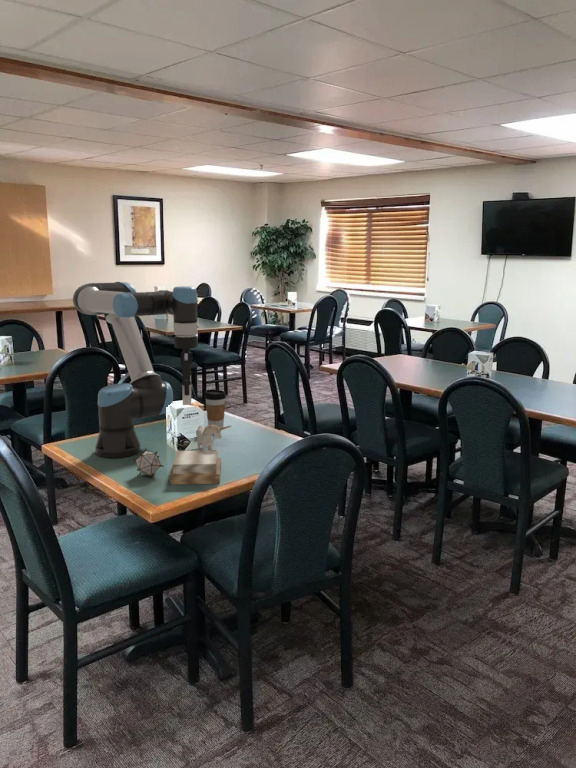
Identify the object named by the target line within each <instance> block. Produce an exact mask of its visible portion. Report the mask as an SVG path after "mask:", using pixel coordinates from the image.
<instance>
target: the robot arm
mask: <svg viewBox="0 0 576 768" xmlns="http://www.w3.org/2000/svg"><path fill="white" fill-rule="evenodd" d="M197 292H198V291H197V289H196V287H194V286H182V285H181V286H175V287H173V288H172V291H171V290H167V289H165V290H163V289H162V290H156V291H146V292H144V291H142V292H139V291H138V292H137V291H136V289H135V287H134V286H133V285H132V284H131V283H129V282H126V281H125V282H124V281H123V282H122V281H121V282H120V281H114V282H91V283H85V284H83V285H81V286H79V287H77V289H75V291H74V293H73V295H72V303H73V306H74V307H75V309H76V310H77V311H79V312H80V313H82V314H84V315H89V316H90V315H91V316H97V315H98V316H99V315H102V316H103V315H104V318H105V321H106V322H107V323H109V324H111V326H112V329H113V331H114V334H115V337H116V339H117V344H118V345H119V349H120V351H121V355H122V357H123V360H124V362H125V365H126V369H127V372H128V375H129V377H130V380H131V381H130V382H128V383H127V382H122V383H113V384H109V385H107V386H104V387H102V388H101V389H100V390H99V391H98V394H97V403H96V404H97V408H98V409H97V410H98V411H97V413H98V423H99V424H98V425H99V434H98V437H97V441H96V443H95V454H96V456H98V457H101V458H105V459H106V458H107V459H119V458H127V457H130V456H134V455H137V454H139V452H140V451H141V443H140V440H139V438H138V436H137V433H136V431H135V420H139V419H140V420H141V419H145V418H150V417H151V418H152V417H155V416H156V417H159V416H160V415H163V414H167V413H166V407H168V405H170V404H171V403H172V404H173V402H174V393H173V388H172V386H171V384H170V383H169V382H167V381H164V380H162V378H161V375H160V374H158V373H156V372H155V371H154V368H153V365H152V362H151V360H150V356H149V354H148V351H147V349H146V346H145V343H144V340H143V338H142V335H141V332H140V329H139V326H138V324H137V321H136V318H135V317H145V316H148V317H149V316H158V315H159V316H160V315H171V316H173V335H175V336H173V343H174V344H173V346H174V348H175V349H180V350H181V349H182V352H180V353H179V359H180V367H181V368H182V374H181V375H182V382H180V383H179V385H180V386H181V387H182V389H181V390H182V391H181V392H182V393H181V394H182V406H192V376H193V375H194V374H193V373H194V371H192V370H191V369H192V366H193V364H192V363H193V352H191V349H197V348H198V346H199V341H198V340H199V337H198V336H197V335H198V328H199V329H200V325H199V324H198V295H197V294H198V293H197Z"/></svg>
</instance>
